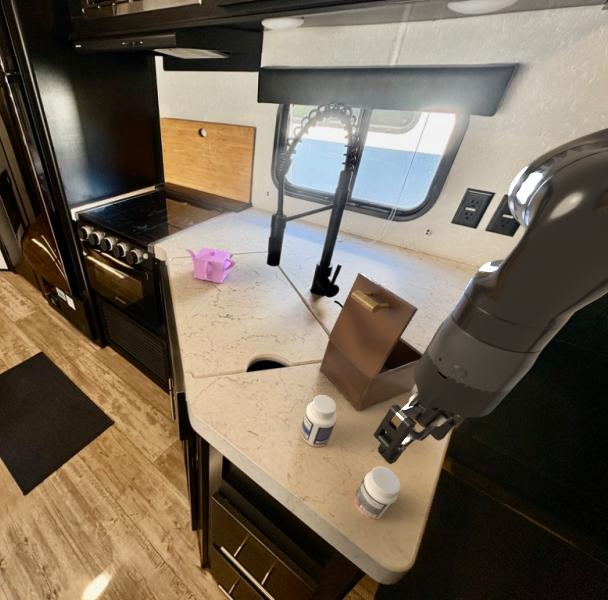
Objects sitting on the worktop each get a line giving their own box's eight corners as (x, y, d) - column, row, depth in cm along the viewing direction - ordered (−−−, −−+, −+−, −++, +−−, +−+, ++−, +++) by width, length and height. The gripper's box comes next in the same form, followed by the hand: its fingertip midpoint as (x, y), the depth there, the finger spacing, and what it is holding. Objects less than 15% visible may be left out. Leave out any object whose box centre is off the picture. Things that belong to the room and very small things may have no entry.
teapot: (179, 280, 108) (177, 254, 102) (194, 262, 118) (194, 237, 113) (228, 290, 103) (230, 263, 97) (240, 270, 113) (241, 245, 107)
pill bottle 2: (374, 486, 53) (390, 461, 48) (391, 517, 49) (411, 493, 45) (348, 490, 53) (362, 465, 48) (363, 522, 49) (380, 498, 44)
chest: (369, 352, 80) (381, 323, 74) (411, 389, 70) (430, 359, 64) (319, 369, 75) (328, 339, 69) (357, 411, 65) (372, 381, 60)
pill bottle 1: (331, 430, 62) (344, 399, 56) (324, 452, 58) (336, 422, 52) (304, 417, 64) (314, 386, 58) (296, 438, 60) (305, 407, 55)
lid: (361, 272, 60) (341, 273, 58) (418, 308, 51) (397, 311, 49) (330, 337, 69) (312, 340, 67) (374, 379, 59) (354, 383, 57)
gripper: (479, 322, 37) (423, 405, 46) (388, 353, 32) (347, 438, 42) (557, 367, 31) (474, 452, 40) (459, 412, 27) (392, 495, 36)
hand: (409, 445), depth 41 cm, fingers open, 8 cm apart
